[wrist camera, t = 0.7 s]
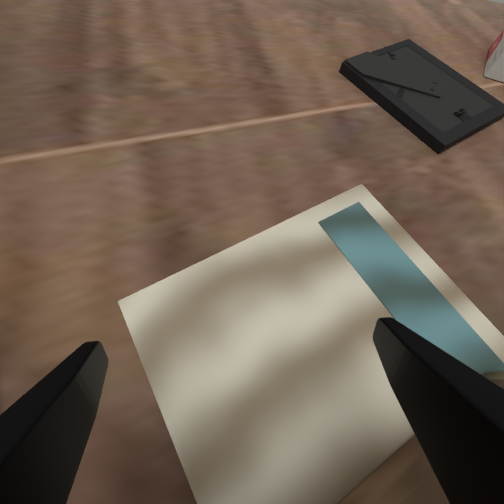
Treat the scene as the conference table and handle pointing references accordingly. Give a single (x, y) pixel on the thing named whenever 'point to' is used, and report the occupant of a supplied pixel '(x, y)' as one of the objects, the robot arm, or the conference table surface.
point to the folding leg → (406, 475)
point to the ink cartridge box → (496, 60)
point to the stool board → (296, 352)
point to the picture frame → (423, 93)
